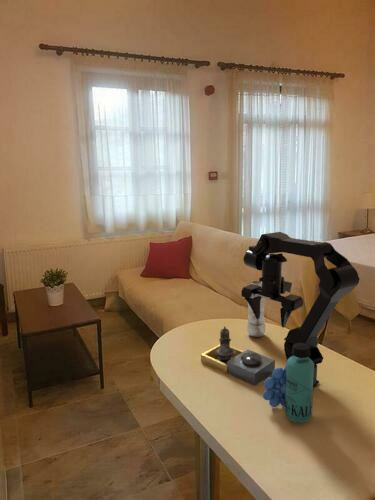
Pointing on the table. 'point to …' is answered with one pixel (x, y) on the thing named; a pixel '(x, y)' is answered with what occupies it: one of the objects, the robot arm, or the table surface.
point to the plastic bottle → (255, 325)
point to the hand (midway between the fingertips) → (270, 322)
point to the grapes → (276, 387)
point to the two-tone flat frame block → (242, 365)
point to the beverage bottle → (299, 384)
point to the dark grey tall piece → (224, 347)
